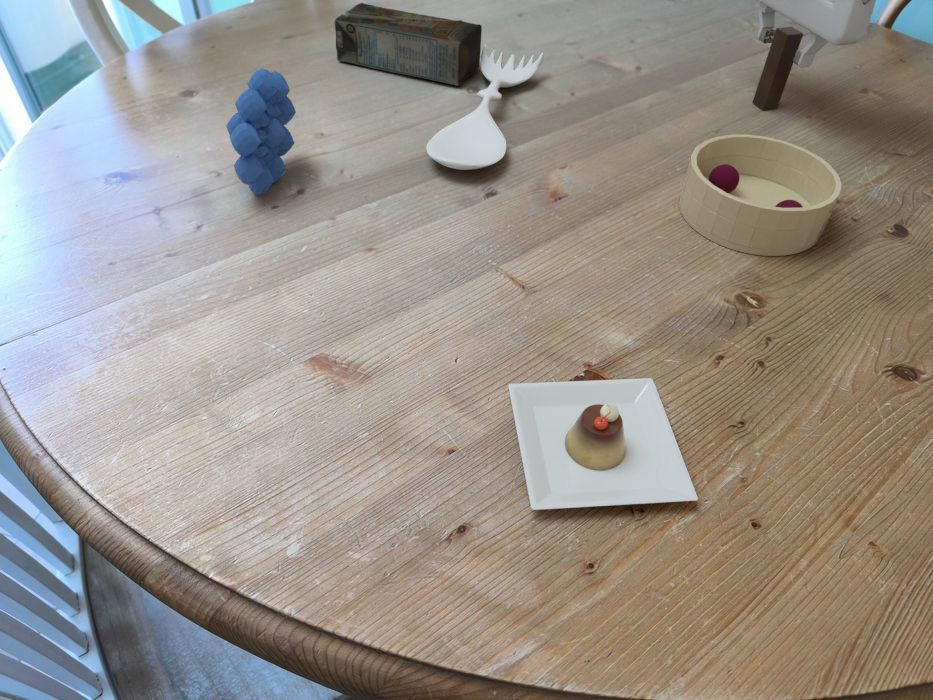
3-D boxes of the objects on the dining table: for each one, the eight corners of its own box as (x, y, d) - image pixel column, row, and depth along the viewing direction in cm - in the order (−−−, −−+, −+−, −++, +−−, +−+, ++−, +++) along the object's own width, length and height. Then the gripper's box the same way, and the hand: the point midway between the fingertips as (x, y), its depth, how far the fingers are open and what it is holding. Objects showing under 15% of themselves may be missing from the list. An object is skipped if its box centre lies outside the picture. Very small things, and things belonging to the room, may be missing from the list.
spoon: (544, 73, 106) (547, 49, 103) (493, 189, 83) (495, 161, 81) (482, 64, 107) (483, 39, 105) (415, 176, 84) (415, 148, 82)
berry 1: (723, 182, 85) (732, 157, 83) (740, 197, 83) (749, 171, 80) (699, 186, 84) (707, 161, 82) (715, 201, 82) (724, 175, 80)
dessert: (529, 518, 52) (537, 477, 49) (506, 393, 61) (511, 350, 58) (694, 509, 54) (713, 468, 50) (649, 387, 62) (662, 345, 59)
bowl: (764, 169, 89) (780, 126, 85) (852, 242, 79) (874, 197, 75) (653, 188, 85) (664, 144, 81) (730, 267, 75) (746, 221, 71)
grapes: (259, 149, 87) (242, 46, 79) (313, 159, 86) (302, 55, 78) (210, 202, 79) (185, 93, 71) (270, 213, 78) (252, 104, 70)
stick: (766, 100, 102) (791, 26, 96) (777, 108, 101) (803, 33, 94) (752, 102, 102) (776, 28, 95) (762, 110, 100) (788, 35, 93)
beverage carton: (361, 42, 111) (359, -5, 106) (482, 68, 106) (485, 20, 101) (335, 62, 105) (331, 13, 101) (461, 90, 101) (463, 41, 96)
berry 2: (785, 217, 80) (796, 191, 78) (805, 234, 78) (816, 208, 76) (761, 222, 79) (770, 196, 77) (779, 239, 77) (790, 213, 75)
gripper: (909, -39, 81) (857, 84, 90) (790, -91, 94) (756, 21, 104) (863, -36, 79) (814, 90, 89) (748, -89, 93) (717, 25, 102)
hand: (782, 52), depth 96 cm, fingers open, 6 cm apart
